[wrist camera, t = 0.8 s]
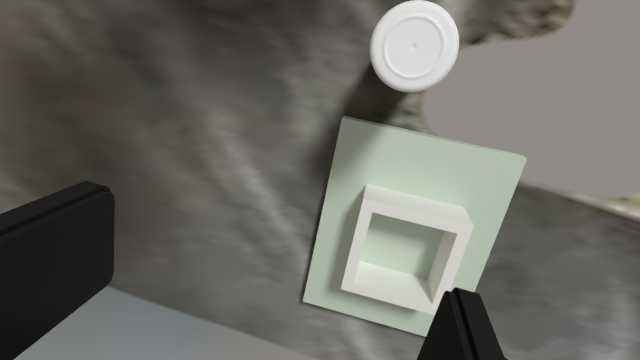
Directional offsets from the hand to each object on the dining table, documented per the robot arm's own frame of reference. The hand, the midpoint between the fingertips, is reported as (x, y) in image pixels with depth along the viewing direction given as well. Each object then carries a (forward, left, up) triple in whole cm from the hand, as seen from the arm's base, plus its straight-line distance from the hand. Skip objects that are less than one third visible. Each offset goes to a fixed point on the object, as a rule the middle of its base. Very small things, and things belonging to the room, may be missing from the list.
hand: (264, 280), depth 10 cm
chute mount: (+9, +7, -25) cm, 28 cm away
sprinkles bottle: (-7, +3, -26) cm, 27 cm away
